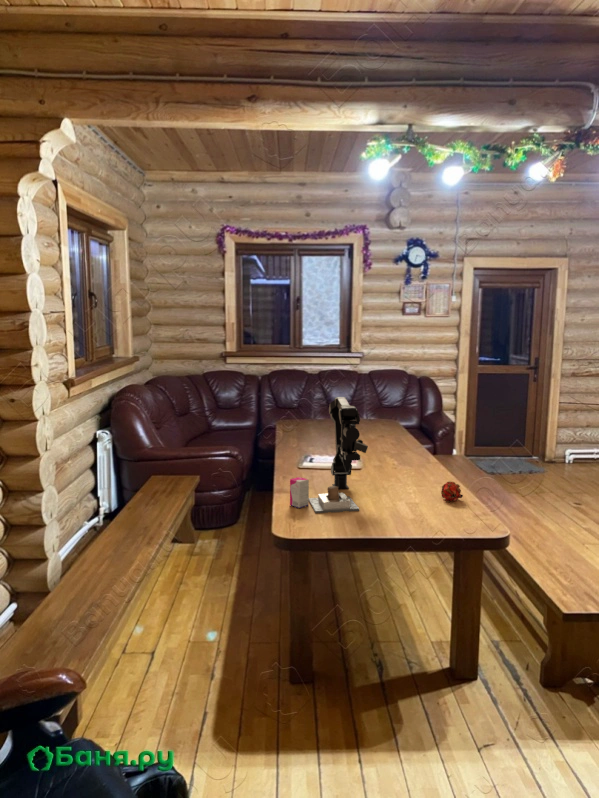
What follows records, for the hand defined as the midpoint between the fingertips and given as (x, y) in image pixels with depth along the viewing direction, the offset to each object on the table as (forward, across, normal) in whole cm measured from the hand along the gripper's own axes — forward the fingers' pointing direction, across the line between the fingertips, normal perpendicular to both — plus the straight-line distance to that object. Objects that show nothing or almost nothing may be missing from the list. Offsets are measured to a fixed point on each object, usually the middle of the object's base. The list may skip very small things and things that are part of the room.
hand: (347, 471), depth 240 cm
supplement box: (+12, -6, +22) cm, 26 cm away
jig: (+12, -8, +8) cm, 16 cm away
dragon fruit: (+12, -9, -44) cm, 46 cm away
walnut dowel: (+11, -9, +8) cm, 16 cm away
